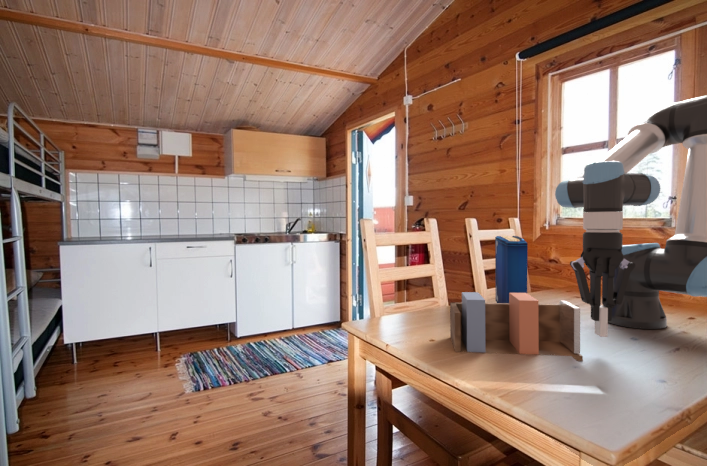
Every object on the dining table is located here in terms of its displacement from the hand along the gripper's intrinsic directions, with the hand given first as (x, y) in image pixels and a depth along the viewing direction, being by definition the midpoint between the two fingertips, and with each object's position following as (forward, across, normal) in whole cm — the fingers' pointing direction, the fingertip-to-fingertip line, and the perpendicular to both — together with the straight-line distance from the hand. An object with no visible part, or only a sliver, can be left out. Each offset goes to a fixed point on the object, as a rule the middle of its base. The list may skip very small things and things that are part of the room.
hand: (600, 334), depth 87 cm
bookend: (+3, +7, 0) cm, 7 cm away
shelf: (+5, +19, -1) cm, 20 cm away
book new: (+4, +17, 0) cm, 17 cm away
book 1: (+4, +28, 0) cm, 28 cm away
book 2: (+5, +9, -42) cm, 43 cm away
